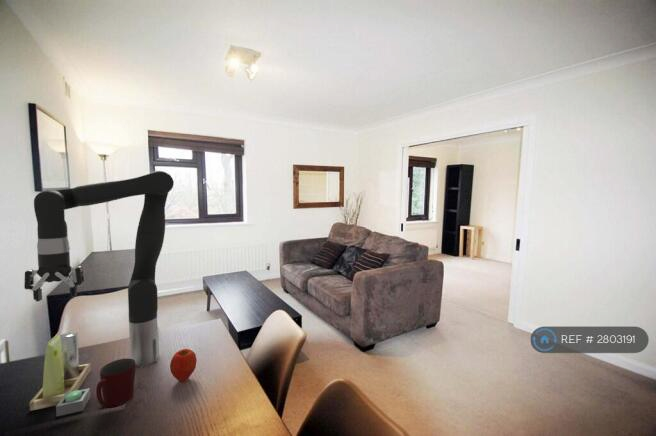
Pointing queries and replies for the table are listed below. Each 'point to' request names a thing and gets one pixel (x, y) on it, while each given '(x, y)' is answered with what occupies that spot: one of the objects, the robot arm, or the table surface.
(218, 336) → the table surface
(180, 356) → the apple
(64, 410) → the grey square dish
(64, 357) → the seated billet
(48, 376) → the tube
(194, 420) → the table surface
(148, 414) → the table surface
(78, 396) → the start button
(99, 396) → the mug
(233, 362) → the table surface
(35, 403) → the wooden compartment tray
